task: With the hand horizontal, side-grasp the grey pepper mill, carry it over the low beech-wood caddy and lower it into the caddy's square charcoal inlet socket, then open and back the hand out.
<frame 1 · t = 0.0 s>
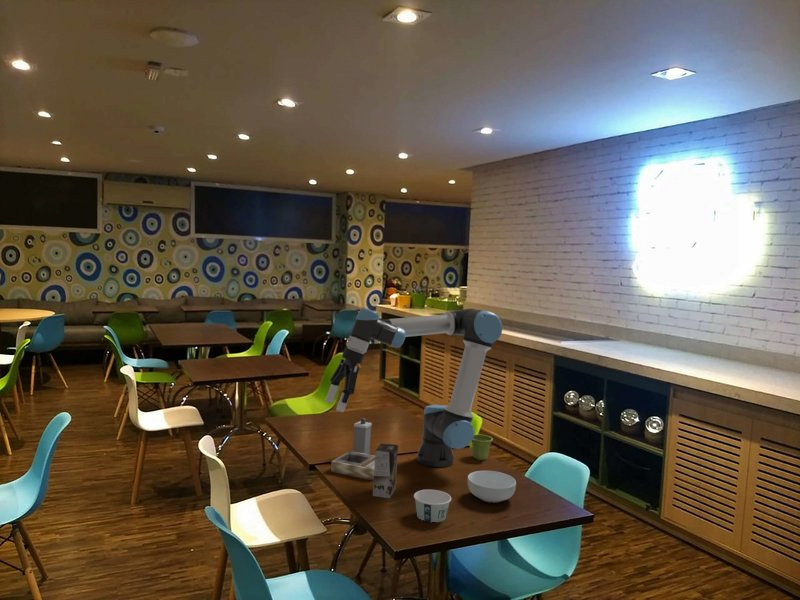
hand: (333, 406, 212), 28 cm above the table, tool tilted 20°, fingers open, 13 cm apart
food container: (431, 517, 190), on the table
cereal bowl: (490, 498, 208), on the table
caddy: (361, 470, 229), on the table
coffee box: (384, 493, 207), on the table
plant pot: (480, 458, 253), on the table
grey pepper mill: (361, 457, 244), on the table
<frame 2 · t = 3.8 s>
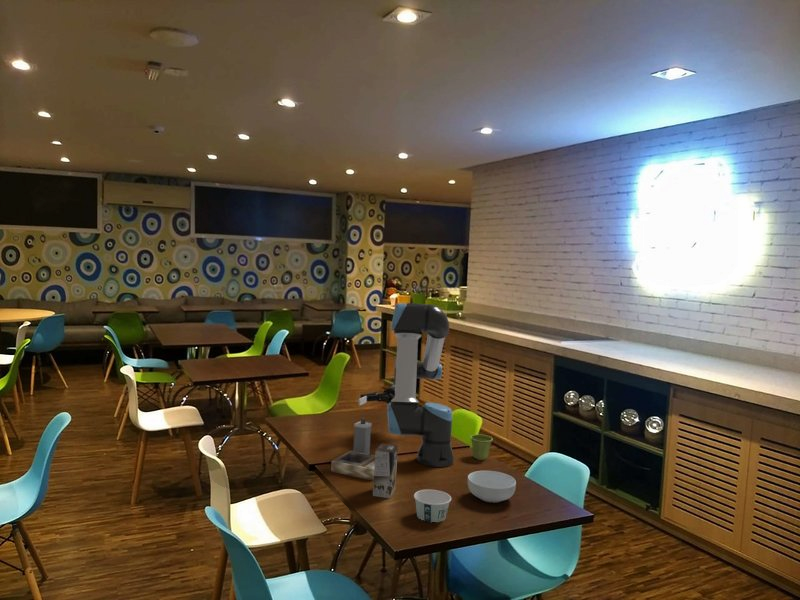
hand: (373, 404, 252), 20 cm above the table, tool horizontal, fingers open, 13 cm apart
nothing on the table moved.
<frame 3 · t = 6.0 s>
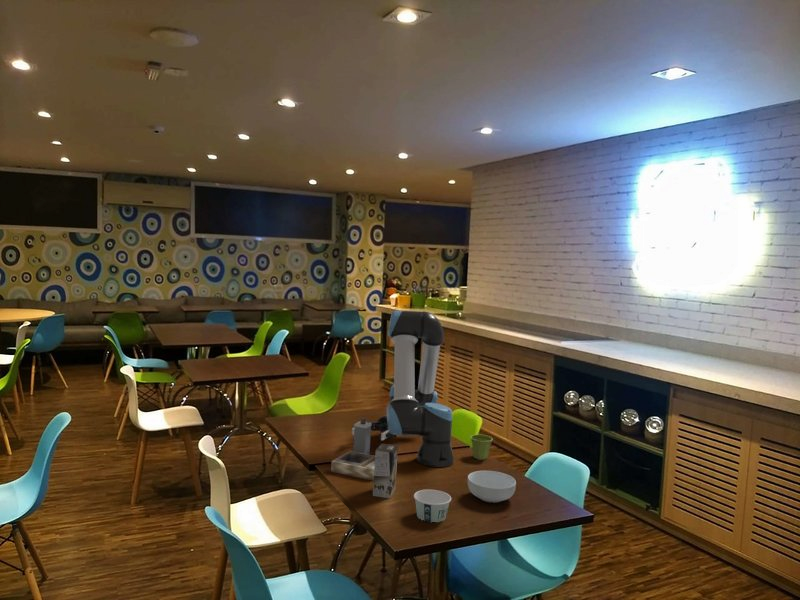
hand: (366, 434, 249), 8 cm above the table, tool horizontal, fingers open, 13 cm apart
nothing on the table moved.
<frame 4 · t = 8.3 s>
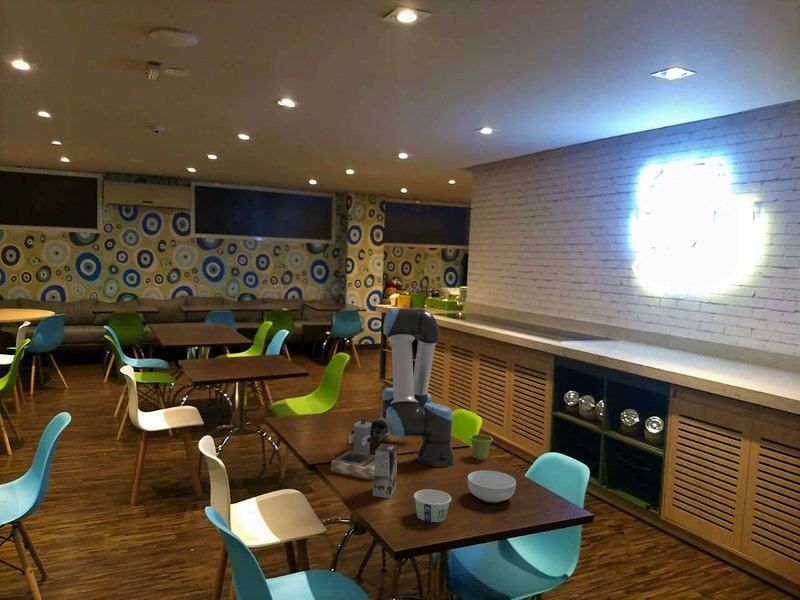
hand: (356, 441, 239), 8 cm above the table, tool horizontal, fingers closed on grey pepper mill, 5 cm apart
grey pepper mill: (361, 457, 244), on the table, touching gripper
everything else where it was.
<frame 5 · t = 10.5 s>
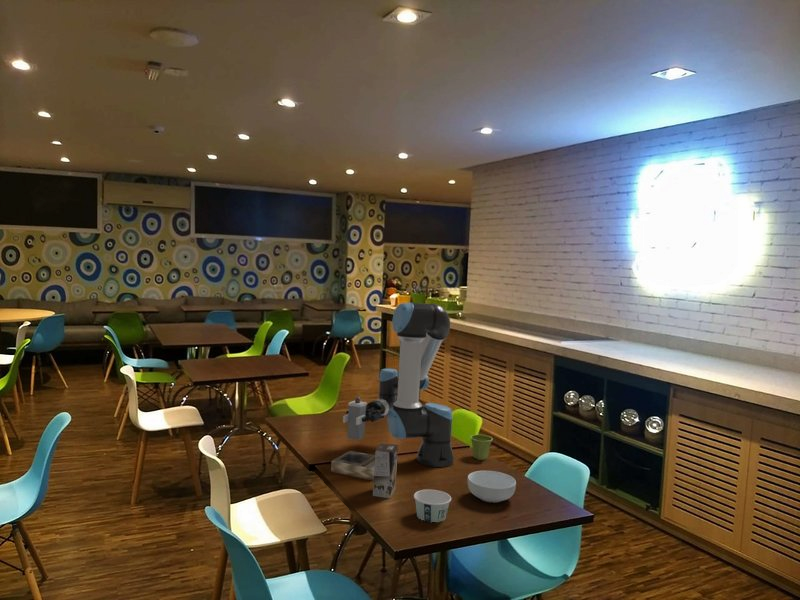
hand: (350, 420, 231), 18 cm above the table, tool horizontal, fingers closed on grey pepper mill, 5 cm apart
grey pepper mill: (355, 437, 236), point 10 cm above the table, touching gripper
everything else where it was.
when the fingers open (9 cm above the table, at t = 12.9 s): grey pepper mill stays where it is, resting on caddy.
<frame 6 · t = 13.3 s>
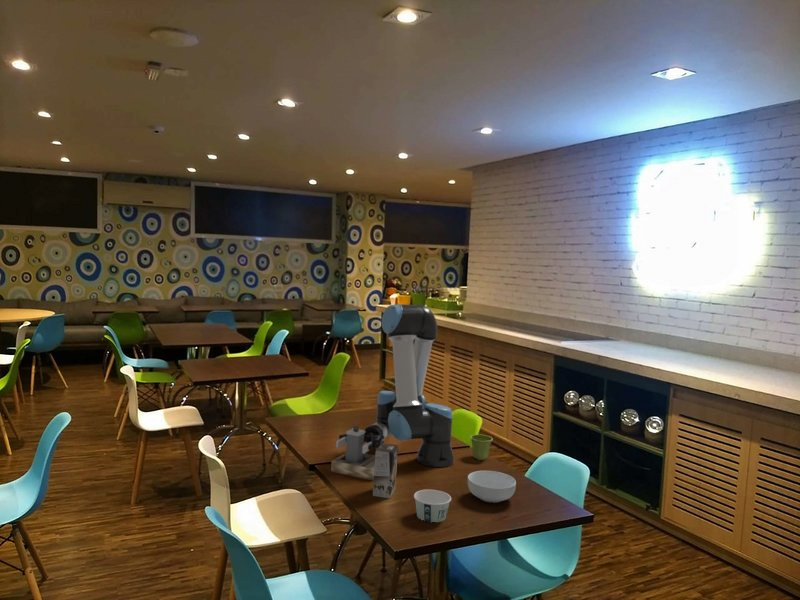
hand: (350, 447, 226), 10 cm above the table, tool horizontal, fingers open, 10 cm apart
grey pepper mill: (353, 466, 230), point 1 cm above the table, touching caddy
everything else where it was.
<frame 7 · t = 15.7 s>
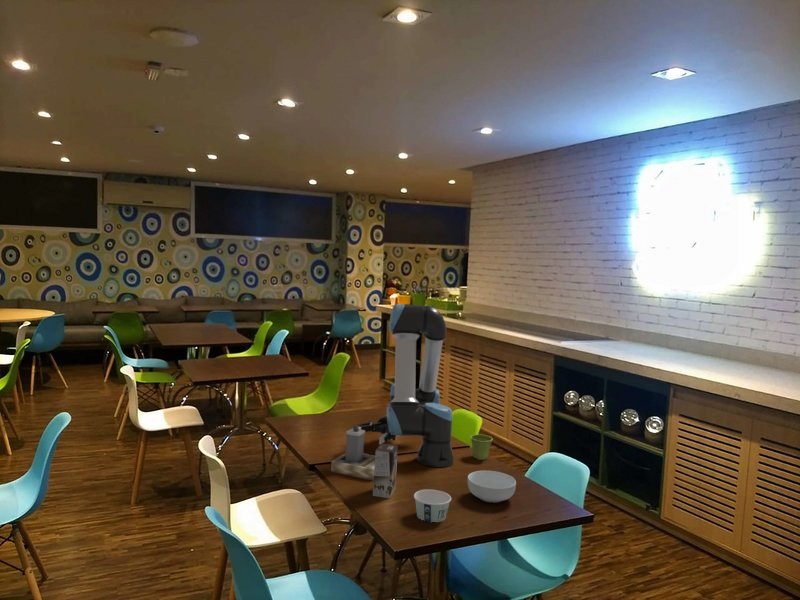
hand: (366, 437, 239), 10 cm above the table, tool horizontal, fingers open, 11 cm apart
nothing on the table moved.
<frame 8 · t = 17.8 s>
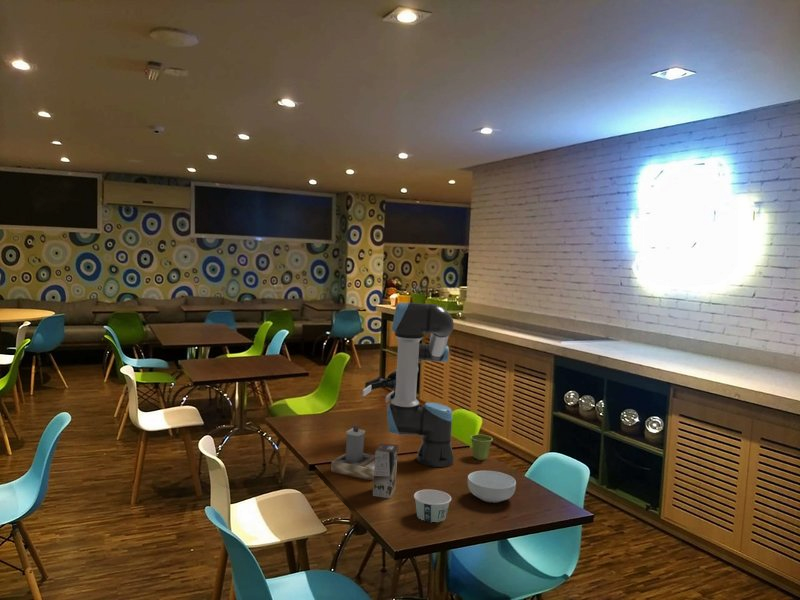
hand: (374, 396, 248), 24 cm above the table, tool horizontal, fingers open, 10 cm apart
nothing on the table moved.
at the end: grey pepper mill 0.0 cm from the target spot on the caddy, point 0.8 cm above the caddy's base; grey pepper mill tilted 0°; the gripper is holding nothing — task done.
